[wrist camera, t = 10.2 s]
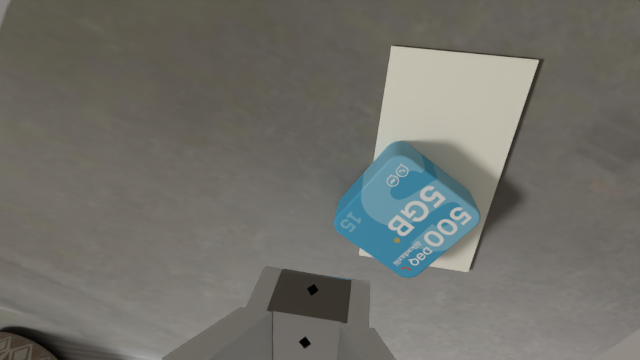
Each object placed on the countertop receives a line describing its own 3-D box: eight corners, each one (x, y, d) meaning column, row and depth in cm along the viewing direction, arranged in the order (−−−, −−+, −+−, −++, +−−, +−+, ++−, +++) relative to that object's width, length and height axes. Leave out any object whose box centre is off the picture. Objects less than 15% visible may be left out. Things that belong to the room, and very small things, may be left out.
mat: (537, 59, 34) (539, 60, 34) (467, 269, 46) (468, 272, 46) (391, 45, 36) (391, 46, 35) (359, 252, 47) (358, 255, 47)
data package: (399, 149, 35) (488, 217, 37) (397, 134, 39) (477, 196, 41) (327, 226, 40) (409, 283, 42) (332, 206, 44) (406, 259, 46)
